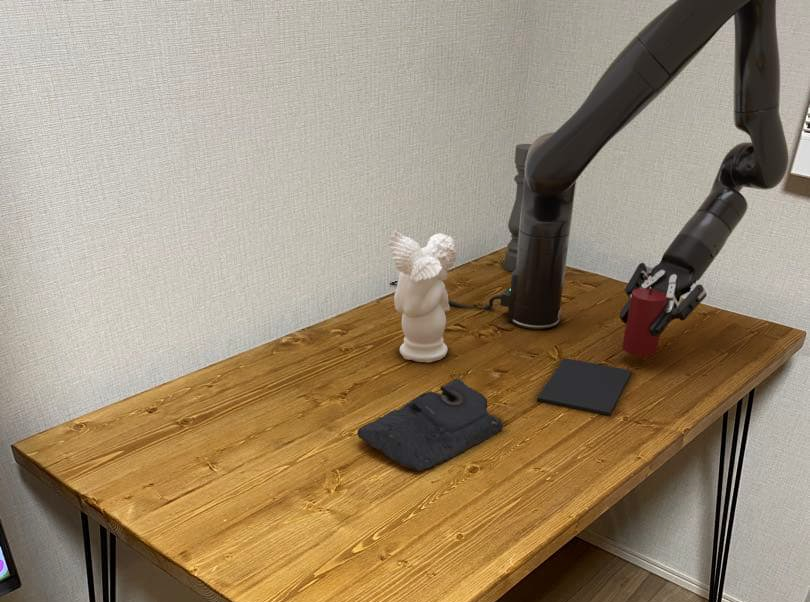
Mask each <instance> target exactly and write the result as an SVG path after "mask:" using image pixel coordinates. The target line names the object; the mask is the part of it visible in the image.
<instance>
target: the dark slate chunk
mask: <svg viewBox="0 0 810 602" xmlns="http://www.w3.org/2000/svg"><path fill="white" fill-rule="evenodd" d="M439 390H440V391H442V392H441V393H439V392H435V391H431V390H429V391H428V392H427V391H426V392H423V393H422V394H420V395H418V396H416V397H415V398H413V399H412V400H410V401H409V402H407V403H406V404H404V405H403V406H402V407H401V408H399V409H393V410H391V411H389V412H387V413H385V414H384V415H382V416H379V417H378V418H377V419H375V420H373V421H372V422H368V423H366V424H363V425H362V426H361V427H359V428H357V437H358V438H359V439H361V440H362V441H364V442H366V443H367V444H368V445H369V446H371V447H373V449H376V450H378V451H379V452H381V453H383V454H384V455H385V456H386V457H387V458H389V459H390V460H391V461H394V462H395V463H398V464H399V465H401V466H402V467H405V468H408V469H410V470H414V471H417V472H422V471H423V470H427V469H429V468H432V467H436V466H437V465H441V464H442V463H444V462H447V461H448V460H451V459H453V458H455V457H456V456H459V455H461V454H463V453H465V452H466V451H468V450H470V449H471V448H473V447H475V446H476V445H478V444H479V445H480V444H481V443H482V442H483V441H486V440H487V439H490V438H491V437H493V436H495V434H497V433H499V432H500V431H502V429H503V427H504V425H503V424H502V419H500V418H496V417H495V416H494V415H491V414H489V413H488V410H487V409H488V399H487V397H486V396H484V394H482V392H479V391H477V390H475V389H473V388H472V387H470V386H468V385H467V384H466V383H465V382H464V381H463V380H462V379H459V378H455V379H453V380H452V381H450V382H448V383H446V384H444V385H441V386H440V389H439Z"/></svg>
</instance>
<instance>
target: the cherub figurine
mask: <svg viewBox="0 0 810 602" xmlns="http://www.w3.org/2000/svg"><path fill="white" fill-rule="evenodd" d="M389 237H390V240H389V241H388V245H389V246H390V248H389V249H390V251H391V254H392V256H394V257H393V262H394V265H395V266H396V269H397V271H399V272H400V273H399V276H398V278H399V279H398V278H397V279H398V282H397V283H396V284H397V285H396V290H395V293H394V296H393V298H394V299H393V300H394V308H395V310H396V311H397V312H398V313H399V314H402V315H401V329H402V332H403V335H404V336H403V343H402V344H401V345H400V346H399V354H400V355H401V356H402V357H403V359H405V360H409V361H414V362H419V363H432V362H436V361H440V360H442V359H443V358H444V357H446V355H447V353H448V346H447V344H446V343H445V340H444V336H443V335H444V334H445V330H446V326H447V315H446V312H447V313H448V312H450V311H451V308H450V304H449V303H448V300H449V295H448V291H447V289H446V284H445V282H444V281H446V280H447V279H448V271H450V270H451V268H452V267H453V266H454V265H455V262H456V259H457V257H458V252H457V249H456V243H455V240H454V239H453V238H452V236H450V235H447V234H444V233H441V232H439V233H435V234H434V235H432V236H430V237H429V240H428V242H427V243H426V246H424V247H421V246H420V244H419V243H418V242H417V241H415V240H414V239H413V238H411V237H408V236H405V235H403V234H401V233H400V232H398V231H397V230H394V232H393V234H392V235H390V236H389Z"/></svg>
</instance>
